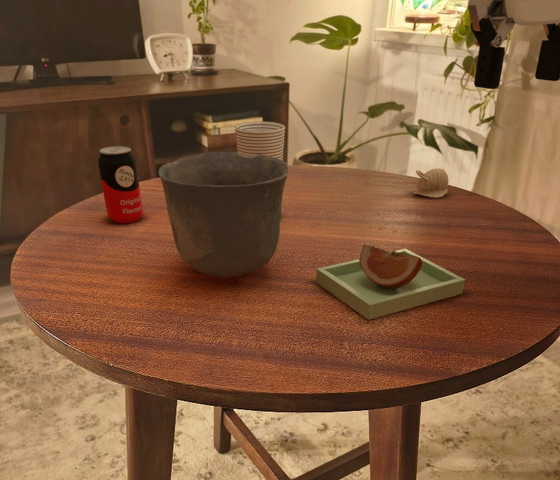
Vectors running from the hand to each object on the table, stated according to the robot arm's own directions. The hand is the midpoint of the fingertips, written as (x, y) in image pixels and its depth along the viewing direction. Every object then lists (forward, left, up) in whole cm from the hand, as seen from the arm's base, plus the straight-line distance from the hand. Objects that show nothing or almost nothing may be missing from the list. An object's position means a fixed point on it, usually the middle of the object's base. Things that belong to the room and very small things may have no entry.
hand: (517, 83), depth 65 cm
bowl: (+29, -20, -25) cm, 43 cm away
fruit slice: (+12, -5, -25) cm, 28 cm away
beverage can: (+36, -51, -25) cm, 67 cm away
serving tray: (+12, -5, -25) cm, 28 cm away
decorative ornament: (-22, -36, -25) cm, 49 cm away
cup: (+14, -40, -25) cm, 49 cm away
